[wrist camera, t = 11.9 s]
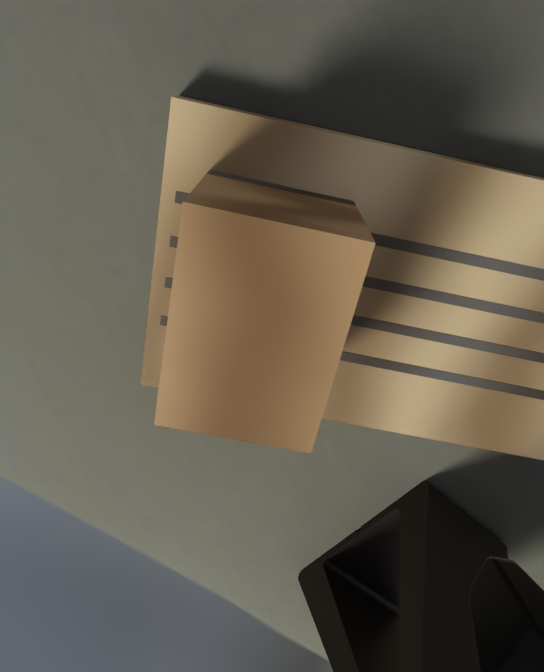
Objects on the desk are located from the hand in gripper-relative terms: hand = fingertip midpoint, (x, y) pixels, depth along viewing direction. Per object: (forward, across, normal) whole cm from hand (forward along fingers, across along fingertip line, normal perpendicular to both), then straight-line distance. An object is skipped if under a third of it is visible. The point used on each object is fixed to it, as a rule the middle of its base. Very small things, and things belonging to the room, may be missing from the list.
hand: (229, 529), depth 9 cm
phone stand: (+13, -10, +14) cm, 22 cm away
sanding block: (+12, 0, 0) cm, 12 cm away
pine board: (+13, -5, 0) cm, 14 cm away
